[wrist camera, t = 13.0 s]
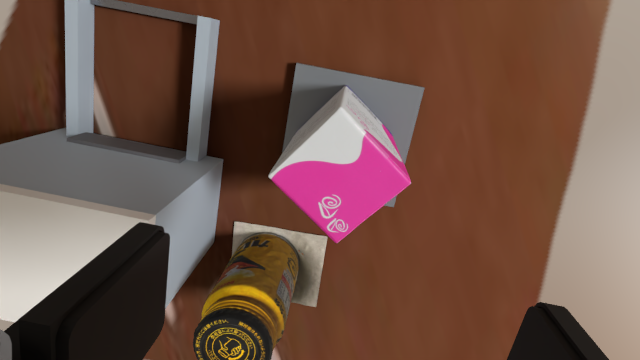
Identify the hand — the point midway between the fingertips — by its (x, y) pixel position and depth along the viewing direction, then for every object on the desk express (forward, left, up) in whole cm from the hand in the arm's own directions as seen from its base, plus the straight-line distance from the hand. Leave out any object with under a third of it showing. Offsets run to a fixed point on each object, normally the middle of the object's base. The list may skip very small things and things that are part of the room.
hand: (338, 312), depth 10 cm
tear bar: (-7, -17, -24) cm, 30 cm away
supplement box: (0, 0, -23) cm, 23 cm away
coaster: (0, 0, -24) cm, 24 cm away
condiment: (+13, -4, -24) cm, 28 cm away
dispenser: (+3, -17, -24) cm, 29 cm away
